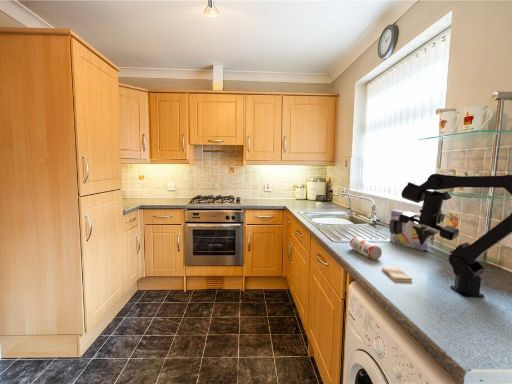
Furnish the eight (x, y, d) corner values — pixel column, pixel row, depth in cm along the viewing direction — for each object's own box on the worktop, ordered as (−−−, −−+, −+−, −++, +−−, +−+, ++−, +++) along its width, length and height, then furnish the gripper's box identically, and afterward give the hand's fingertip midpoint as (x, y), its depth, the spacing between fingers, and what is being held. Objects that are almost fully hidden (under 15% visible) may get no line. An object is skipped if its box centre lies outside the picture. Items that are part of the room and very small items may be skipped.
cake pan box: (387, 240, 144) (389, 209, 142) (394, 239, 146) (396, 208, 144) (421, 251, 127) (424, 215, 125) (428, 250, 129) (431, 215, 127)
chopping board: (411, 281, 94) (412, 278, 94) (394, 281, 94) (395, 278, 94) (397, 270, 104) (397, 267, 104) (381, 270, 104) (382, 267, 104)
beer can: (369, 260, 113) (347, 248, 128) (381, 261, 115) (358, 249, 130) (372, 246, 113) (350, 236, 128) (384, 247, 114) (360, 237, 130)
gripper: (471, 211, 92) (459, 249, 97) (416, 195, 107) (408, 229, 112) (457, 218, 86) (445, 259, 92) (401, 200, 101) (394, 236, 106)
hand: (422, 244), depth 101 cm, fingers closed
